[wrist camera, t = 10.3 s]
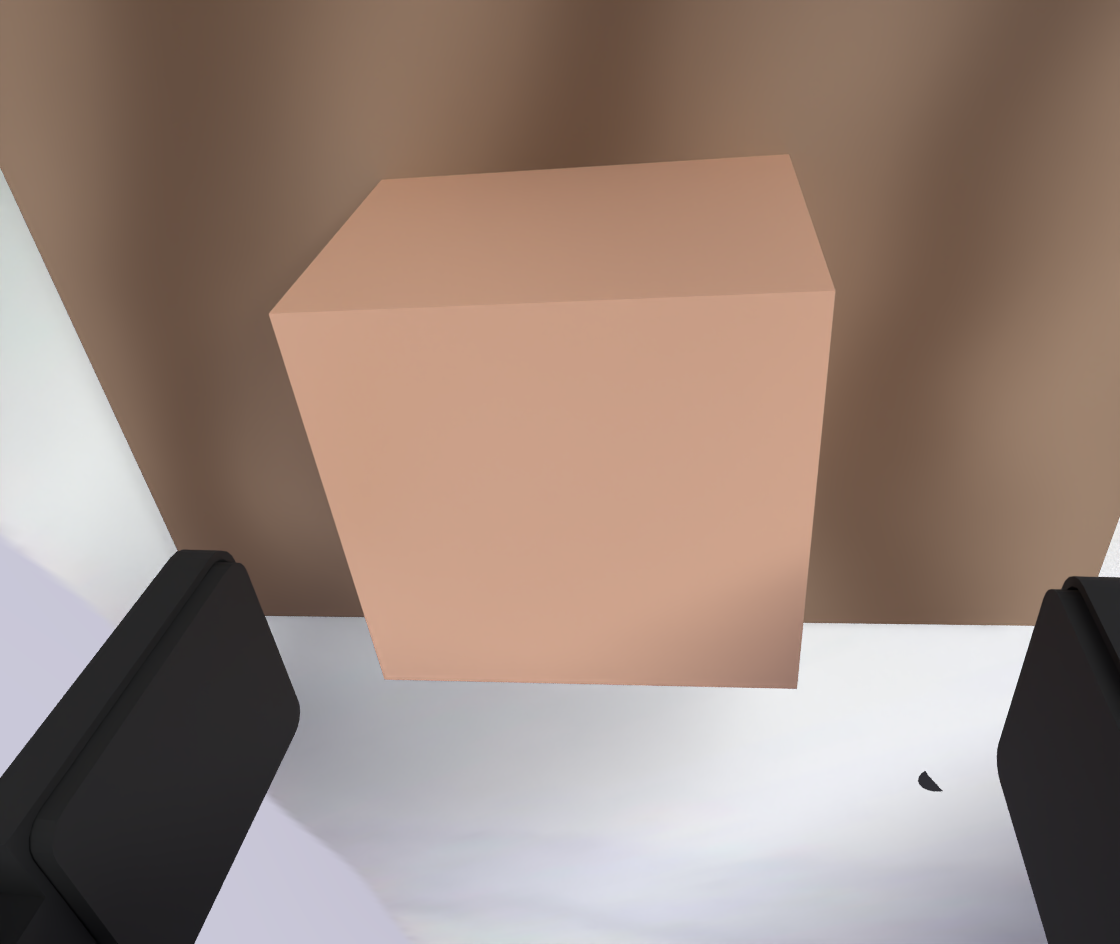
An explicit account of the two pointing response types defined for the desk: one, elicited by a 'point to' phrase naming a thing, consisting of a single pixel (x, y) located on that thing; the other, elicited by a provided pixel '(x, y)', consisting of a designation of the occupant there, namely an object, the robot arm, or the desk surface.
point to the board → (600, 140)
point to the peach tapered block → (572, 419)
